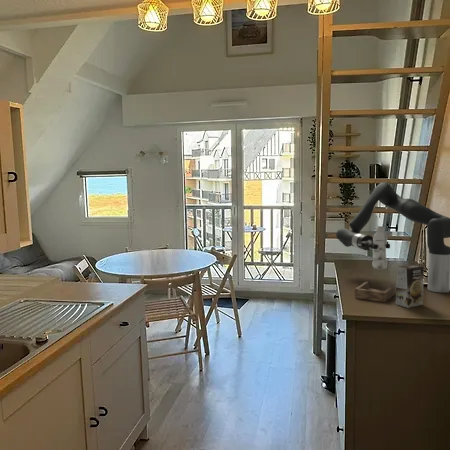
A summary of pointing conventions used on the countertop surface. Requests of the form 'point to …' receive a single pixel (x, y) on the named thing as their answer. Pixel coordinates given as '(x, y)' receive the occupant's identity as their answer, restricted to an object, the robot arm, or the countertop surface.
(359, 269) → the countertop surface
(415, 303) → the coffee box
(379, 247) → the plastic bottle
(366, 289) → the walnut bay
